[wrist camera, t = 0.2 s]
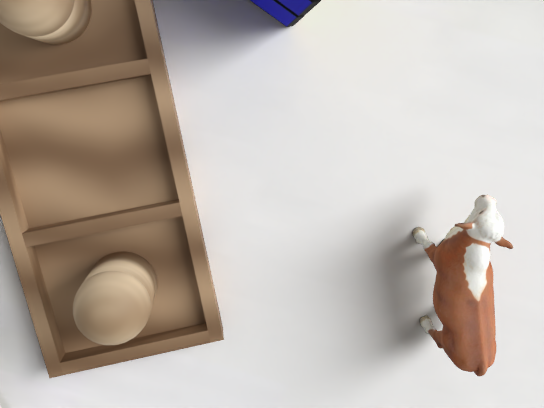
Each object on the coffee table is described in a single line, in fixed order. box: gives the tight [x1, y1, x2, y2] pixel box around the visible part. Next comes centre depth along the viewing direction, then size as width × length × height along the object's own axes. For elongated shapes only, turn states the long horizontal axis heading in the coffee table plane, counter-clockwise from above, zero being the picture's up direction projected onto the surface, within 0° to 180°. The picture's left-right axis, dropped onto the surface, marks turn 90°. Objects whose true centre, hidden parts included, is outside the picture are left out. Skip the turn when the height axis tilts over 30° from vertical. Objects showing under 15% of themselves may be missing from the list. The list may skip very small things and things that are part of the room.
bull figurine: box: [413, 195, 513, 376], centre depth 38 cm, size 4×13×8 cm, turn 3°
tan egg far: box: [73, 251, 158, 345], centre depth 35 cm, size 5×5×7 cm
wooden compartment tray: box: [0, 0, 224, 378], centre depth 36 cm, size 31×13×2 cm, turn 10°
